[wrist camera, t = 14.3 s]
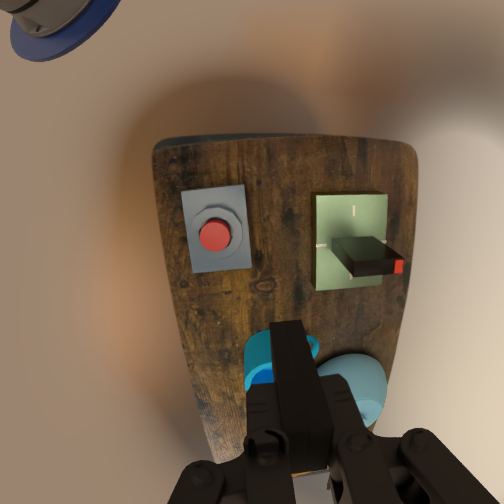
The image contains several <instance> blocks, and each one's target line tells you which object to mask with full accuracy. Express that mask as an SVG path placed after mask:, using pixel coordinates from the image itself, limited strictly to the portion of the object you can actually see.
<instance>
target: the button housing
mask: <svg viewBox="0 0 504 504" xmlns="http://www.w3.org/2000/svg"><path fill="white" fill-rule="evenodd" d="M181 197H182V205H183V212H184V219H185V226H186V233H187V239H188V246H189V252H190V259H191V265H192V271H193V273H201V272H212V271H223V270H235V269H245V268H252V259H251V249H250V238H249V228H248V218H247V207H246V197H245V186H244V183H239V184H230V185H220V186H211V187H203V188H194V189H187V190H183V191H181ZM213 219H219V220H222V221H224V222H225V223H226V224H227V225H228V226H229V228H230V232H231V235H230V241H229V244H228V245H227V246H226V248H224V249H223V250H221V251H217V252H214V251H210V250H207V249H206V248H205V247H204V246H203V245H202V244H201V241H200V232H201V230H202V228H203V226H204V225H205V223H207V222H208V221H210V220H213Z"/></svg>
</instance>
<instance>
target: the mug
mask: <svg viewBox="0 0 504 504" xmlns="http://www.w3.org/2000/svg"><path fill="white" fill-rule="evenodd" d="M306 336H307V340H308V342H311V343H312V349H311V352H312V355H313V358H315V356H316V355H317V353H318V350H319V341H318V340H317V339H316V338H315V337H313V336H310V335H306ZM244 372H245V389H246V391H248V389H249V388H250V386H251V384H262V383H273V382H274V379H273V371H272V360H271V343H270V330H263V331H261V332H258V333H256V334H254V335H253V336H252V337H250V339H249V340H248V341H247V343H246V345H245V349H244Z"/></svg>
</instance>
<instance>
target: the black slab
mask: <svg viewBox="0 0 504 504" xmlns="http://www.w3.org/2000/svg"><path fill="white" fill-rule="evenodd" d="M331 251H332V252H333V254H334V255H335V256H336V257H337V258H338V259H339V261H340V262H341V263H342V264H343V265H344V267H345V268H346V269H347V270H348V271H349V273H350V274H351V275H352V276H353V277H365V276H376V275H387V274H397V273H402V271H403V262H404V258H403V257H402V256H401V255H399V254H398V253H397V252H395V251H394V250H392V249H391V248H390V247H388V246H387V245H385V244H384V243H382V242H381V241H380V240H378V239H377V238H375V237H374V236H365V237H346V238H332V246H331Z"/></svg>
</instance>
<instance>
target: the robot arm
mask: <svg viewBox="0 0 504 504" xmlns="http://www.w3.org/2000/svg"><path fill="white" fill-rule="evenodd" d="M93 1H94V0H0V9H1V10H3V11H6V12H8V13H10V14H12V16H13V17H14V19H15V20H16V22H17V23H18V24H19V26H20V27H21V29H22V30H23V31H24V32H25V33H26V34H28V35H30V36H32V37H35V38H47V37H51V36H53V35H56V34H58V33H60V32H61V31H63V30H65V29H66V28H68V27H69V26H70V25H72V24H73V23H74V22H75V21H77V20H78V19H79V18H80V17H81V16H82V15H83V14H84V13H85V11H86V10H87V9H88V8H89V7H90V5H91V4H92V3H93ZM269 328H270V343H271V360H272V371H273V379H274V382H273V383H262V384H251V386H250V388H249V389H248V391H247V393H246V405H247V406H246V409H247V436H246V437H245V439H244V443H243V445H244V452H243V453H242V454H241V455H240V456H239V457H237V458H236V459H233V460H231V461H228V462H224V463H221V464H216V463H214V462H211V461H206V460H200V461H196V462H193V463H191V464H189V465H188V466H186V468H185V469H184V470H183V472H182V473H181V475H180V478H179V480H178V482H177V484H176V486H175V488H174V490H173V493H172V495H171V497H170V499H169V501H168V503H167V504H296V501H295V494H294V487H293V480H292V474H297V473H304V472H311V471H317V470H323V469H327V465H328V466H329V470H330V476H329V480H328V483H327V490H329V489H330V488H331V492H332V497H333V501H334V504H500V503H499V502H498V501H497V500H496V499H495V498H494V497H493V496H492V495H491V494H490V493H489V492H488V490H487V489H486V488H484V486H483V485H482V484H481V483H480V482H479V481H478V480H477V479H476V478H475V477H474V476H473V475H472V474H471V473H470V471H469V470H467V468H466V467H465V466H464V465H463V464H462V463H461V462H460V461H459V460H458V459H457V458H456V457H455V456H454V455H453V454H452V453H451V452H450V450H449V449H448V448H447V447H446V446H445V445H444V444H443V443H442V442H441V441H440V440H439V439H438V438H437V437H436V436H435V435H434V434H433V433H432V432H430V431H429V430H427V429H423V428H414V429H411V430H408V431H407V432H406V433H405V434H404V435H403V436H402V437H380V436H377V435H374V434H373V433H372V432H370V431H369V430H368V429H367V428H366V426H365V424H364V421H363V419H362V416H361V414H360V411H359V409H358V406H357V404H356V401H355V399H354V396H353V394H352V392H351V389H350V387H349V384H348V382H347V380H346V379H345V378H343V377H342V376H341V375H340V374H339V373H338V374H331V375H325V376H319V374H318V371H317V368H316V365H315V361H314V358H313V355H312V352H311V349H310V346H309V343H308V340H307V336H306V333H305V330H304V327H303V324H302V321H301V320H292V321H282V322H271V323H269Z"/></svg>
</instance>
